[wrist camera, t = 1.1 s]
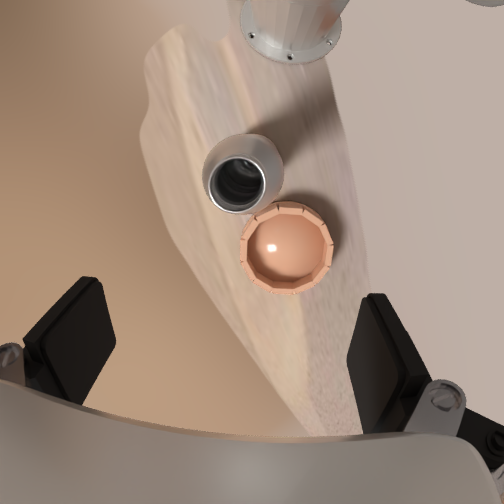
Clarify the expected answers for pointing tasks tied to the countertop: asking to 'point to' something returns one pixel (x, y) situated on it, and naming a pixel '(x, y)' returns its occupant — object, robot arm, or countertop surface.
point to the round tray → (286, 248)
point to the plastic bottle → (243, 174)
